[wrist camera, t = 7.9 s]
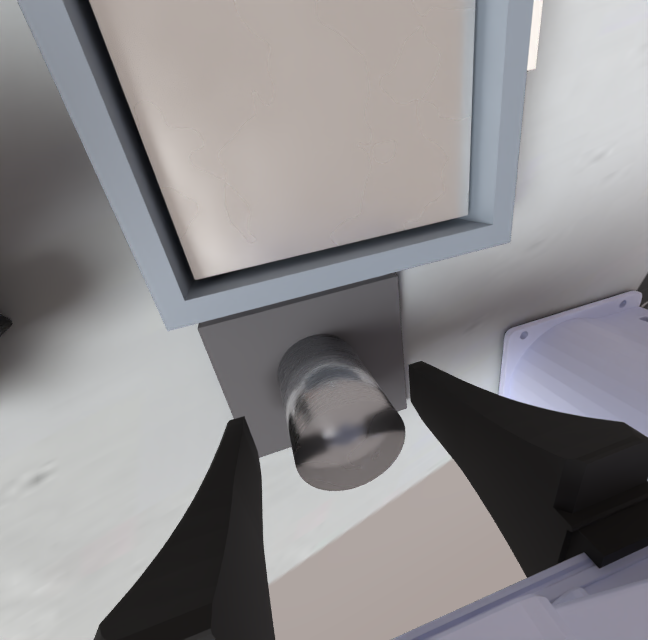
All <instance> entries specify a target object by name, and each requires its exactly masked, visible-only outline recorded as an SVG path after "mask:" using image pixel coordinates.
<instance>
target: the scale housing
mask: <svg viewBox="0 0 648 640" xmlns="http://www.w3.org/2000/svg"><path fill="white" fill-rule="evenodd" d="M17 1H18V4H19V6H20V8H21V10H22V12H23V15H24V17H25V19H26V21H27V23H28V26H29V28H30V30H31V32H32V34H33V37H34V39H35V41H36V43H37V45H38V48H39V50H40V52H41V54H42V56H43V59H44V61H45V63H46V65H47V67H48V69H49V72H50V74H51V76H52V78H53V80H54V83H55V85H56V87H57V89H58V91H59V94H60V96H61V98H62V100H63V102H64V105H65V107H66V109H67V111H68V113H69V116H70V118H71V120H72V122H73V124H74V127H75V129H76V131H77V133H78V135H79V138H80V140H81V142H82V144H83V146H84V149H85V151H86V153H87V155H88V157H89V160H90V162H91V164H92V166H93V168H94V170H95V173H96V175H97V177H98V179H99V181H100V184H101V186H102V188H103V190H104V192H105V195H106V197H107V199H108V201H109V203H110V206H111V208H112V210H113V212H114V214H115V217H116V219H117V221H118V223H119V225H120V228H121V230H122V232H123V234H124V236H125V239H126V241H127V243H128V245H129V247H130V250H131V252H132V254H133V256H134V258H135V260H136V263H137V265H138V267H139V269H140V271H141V274H142V276H143V278H144V280H145V282H146V285H147V287H148V289H149V291H150V293H151V296H152V298H153V300H154V302H155V304H156V307H157V309H158V311H159V313H160V315H161V318H162V320H163V322H164V324H165V326H166V329H167V331H170V330H174V329H178V328H182V327H186V326H189V325H193V324H197V323H201V322H205V321H209V320H213V319H216V318H220V317H224V316H228V315H232V314H236V313H240V312H243V311H247V310H251V309H255V308H259V307H263V306H267V305H270V304H274V303H278V302H282V301H286V300H290V299H294V298H297V297H301V296H305V295H309V294H313V293H317V292H321V291H324V290H328V289H332V288H336V287H340V286H344V285H347V284H351V283H355V282H359V281H363V280H367V279H371V278H374V277H378V276H382V275H386V274H390V273H394V272H398V271H401V270H405V269H409V268H413V267H417V266H421V265H425V264H428V263H432V262H436V261H440V260H444V259H448V258H452V257H455V256H459V255H463V254H467V253H471V252H475V251H479V250H482V249H486V248H490V247H494V246H498V245H502V244H506V243H509V242H510V241H511V231H512V220H513V210H514V200H515V189H516V179H517V168H518V158H519V148H520V137H521V127H522V117H523V106H524V96H525V86H526V75H527V72H529V71H531V70H534V69H536V61H537V52H538V42H539V33H540V24H541V14H542V5H543V0H475V28H474V57H473V86H472V115H471V144H470V173H469V202H468V215H466V216H462V217H458V218H454V219H450V220H445V221H441V222H437V223H433V224H429V225H424V226H420V227H416V228H412V229H408V230H403V231H399V232H395V233H391V234H387V235H382V236H378V237H374V238H370V239H366V240H361V241H357V242H353V243H349V244H345V245H340V246H336V247H332V248H328V249H324V250H319V251H315V252H311V253H307V254H303V255H298V256H294V257H290V258H286V259H282V260H277V261H273V262H269V263H265V264H261V265H257V266H252V267H248V268H244V269H240V270H236V271H231V272H227V273H223V274H219V275H215V276H210V277H206V278H202V279H198V280H195V279H194V276H193V274H192V271H191V268H190V266H189V263H188V260H187V258H186V255H185V253H184V250H183V247H182V245H181V242H180V239H179V237H178V234H177V231H176V229H175V226H174V223H173V221H172V218H171V216H170V213H169V210H168V208H167V205H166V202H165V200H164V197H163V194H162V192H161V189H160V186H159V184H158V181H157V179H156V176H155V173H154V171H153V168H152V165H151V163H150V160H149V157H148V155H147V152H146V150H145V147H144V144H143V142H142V139H141V136H140V134H139V131H138V128H137V126H136V123H135V120H134V118H133V115H132V113H131V110H130V107H129V105H128V102H127V99H126V97H125V94H124V91H123V89H122V86H121V83H120V81H119V78H118V76H117V73H116V70H115V68H114V65H113V62H112V60H111V57H110V54H109V52H108V49H107V46H106V44H105V41H104V39H103V36H102V33H101V31H100V28H99V25H98V23H97V20H96V17H95V15H94V12H93V9H92V7H91V4H90V2H89V0H17Z"/></svg>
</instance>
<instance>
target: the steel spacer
mask: <svg viewBox="0 0 648 640" xmlns="http://www.w3.org/2000/svg"><path fill="white" fill-rule="evenodd" d="M277 378H278V384H279V388H280V393H281V398H282V403H283V407H284V412H285V417H286V422H287V426H288V431H289V436H290V441H291V445H292V450H293V455H294V460H295V465H296V468H297V471H298V473H299V475H300V476H301V477H302V479H303V480H304V481H305V482H307V483H308V484H310V485H311V486H313V487H316V488H318V489H322V490H328V491H341V490H348V489H352V488H356V487H359V486H361V485H364V484H366V483H368V482H370V481H372V480H373V479H375V478H377V477H378V476H380V475H381V474H382V473H383V472H385V471H386V470H387V469H388V468H389V467H390V466H391V465H392V464H393V462H394V461H395V460H396V458H397V457H398V455H399V454H400V452H401V450H402V447H403V444H404V440H405V426H404V423H403V420H402V418H401V417H400V415H399V414H398V412H397V411H396V409H395V408H394V407H393V405H392V404H391V402H390V401H389V399H388V398H387V397H386V395H385V394H384V392H383V391H382V390H381V388H380V387H379V385H378V384H377V382H376V381H375V380H374V378H373V377H372V375H371V374H370V372H369V371H368V370H367V368H366V367H365V365H364V364H363V363H362V361H361V360H360V358H359V357H358V355H357V354H356V353H355V351H354V350H353V348H352V347H351V346H350V345H349V344H348V343H347V342H346V341H345V340H343V339H341V338H339V337H337V336H334V335H329V334H318V335H312V336H309V337H306V338H304V339H302V340H300V341H298V342H296V343H295V344H294V345H292V346H291V347H290V348H289V349H288V350H287V351H286V353H285V354H284V355H283V357H282V359H281V361H280V363H279V366H278V372H277Z"/></svg>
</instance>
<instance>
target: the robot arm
mask: <svg viewBox="0 0 648 640" xmlns="http://www.w3.org/2000/svg"><path fill="white" fill-rule="evenodd" d="M641 300H642V293H641V292H638V291H629V292H626V293H623V294H620V295H616V296H613V297H610V298H607V299H603V300H600V301H597V302H594V303H590V304H587V305H584V306H581V307H577V308H574V309H571V310H568V311H564V312H561V313H558V314H555V315H551V316H548V317H545V318H542V319H539V320H535V321H532V322H529V323H526V324H522V325H519V326H516V327H513V328H511V329H509V330H508V331H507V332H506V334H505V337H504V346H503V356H502V366H501V376H500V386H499V395H497V394H495V393H492V392H489V391H487V390H484V389H482V388H479V387H477V386H474V385H472V384H470V383H467V382H465V381H463V380H461V379H458V378H456V377H454V376H452V375H450V374H448V373H446V372H444V371H441V370H439V369H437V368H435V367H433V366H431V365H429V364H427V363H425V362H422V361H420V362H417V363H413V364H410V365H409V381H410V397H411V402H412V404H413V406H414V407H415V409H416V411H417V412H418V414H419V416H420V417H421V419H422V420H423V422H424V423H425V424H426V426H427V427H428V428H429V429H430V431H431V432H432V433H433V434H434V436H435V437H436V438H437V439H438V441H439V442H440V443H441V444H442V446H443V447H444V448H445V449H446V451H447V452H448V453H449V454H450V456H451V457H452V458H453V459H454V461H455V462H456V463H457V464H458V466H459V467H460V468H461V470H462V471H463V473H464V474H465V476H466V477H467V479H468V480H469V482H470V483H471V485H472V486H473V488H474V489H475V491H476V492H477V494H478V495H479V497H480V499H481V500H482V502H483V503H484V505H485V507H486V508H487V510H488V511H489V513H490V514H491V516H492V518H493V519H494V521H495V523H496V524H497V526H498V528H499V529H500V531H501V533H502V534H503V536H504V538H505V540H506V541H507V543H508V545H509V546H510V548H511V550H512V552H513V553H514V555H515V557H516V559H517V561H518V562H519V564H520V566H521V568H522V569H523V571H524V573H525V575H526V577H527V578H526V579H524V580H522V581H519V582H517V583H515V584H513V585H510V586H508V587H506V588H504V589H502V590H499V591H497V592H495V593H493V594H491V595H488V596H486V597H484V598H482V599H480V600H478V601H475V602H473V603H471V604H469V605H466V606H464V607H462V608H460V609H457V610H455V611H453V612H451V613H449V614H446V615H444V616H442V617H440V618H438V619H435V620H433V621H431V622H429V623H427V624H424V625H422V626H420V627H418V628H416V629H413V630H411V631H409V632H407V633H404V634H402V635H400V636H398V637H396V638H393V639H391V640H648V309H645V308H642V307H639V306H640V303H641ZM94 640H275V635H274V627H273V621H272V612H271V605H270V597H269V589H268V581H267V572H266V564H265V555H264V545H263V519H262V479H261V469H260V462H259V455H258V450H257V448H256V445H255V442H254V440H253V437H252V435H251V432H250V429H249V427H248V424H247V422H246V419H245V416H243V417H239V418H236V419H233V420H230V421H229V422H228V423H227V426H226V429H225V432H224V434H223V437H222V440H221V442H220V445H219V447H218V450H217V452H216V454H215V456H214V459H213V461H212V463H211V466H210V468H209V470H208V472H207V474H206V476H205V478H204V480H203V482H202V484H201V486H200V488H199V490H198V492H197V494H196V495H195V497H194V499H193V501H192V503H191V504H190V506H189V508H188V509H187V511H186V513H185V514H184V516H183V518H182V519H181V521H180V522H179V524H178V525H177V527H176V529H175V530H174V532H173V533H172V535H171V536H170V538H169V539H168V541H167V542H166V543H165V545H164V546H163V548H162V549H161V551H160V552H159V553H158V554H157V556H156V557H155V558H154V560H153V561H152V562H151V564H150V565H149V566H148V568H147V569H146V570H145V572H144V573H143V574H142V575H141V577H140V578H139V579H138V580H137V582H136V583H135V584H134V585H133V587H132V588H131V589H130V590H129V591H128V592H127V594H126V595H125V596H124V597H123V598H122V599H121V601H120V602H119V603H118V604H117V605H116V606H115V607H114V609H113V610H112V611H111V612H110V613H109V614H108V616H107V617H106V618H105V619H104V620H103V621H102V622H101V623H100V625H99V627H98V630H97V633H96V635H95V638H94Z"/></svg>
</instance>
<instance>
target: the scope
mask: <svg viewBox="0 0 648 640" xmlns="http://www.w3.org/2000/svg"><path fill="white" fill-rule="evenodd" d="M11 325H12V321H11V320H10V319H8V318H7V317H5V316H3V315H2V314H0V336H1V335H2V334H3V333H4V332H5V331H6V330H7V329H8V328H9V327H10V326H11Z"/></svg>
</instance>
